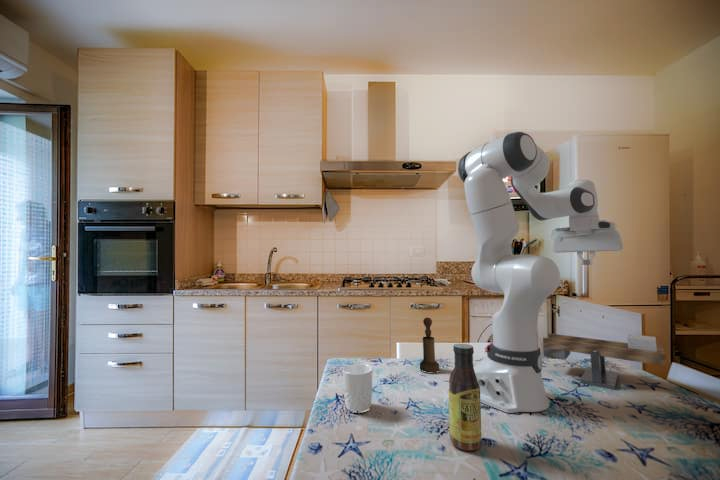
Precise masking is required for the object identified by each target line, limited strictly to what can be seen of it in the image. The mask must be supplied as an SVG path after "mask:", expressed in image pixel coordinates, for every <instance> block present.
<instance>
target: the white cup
mask: <svg viewBox="0 0 720 480" xmlns="http://www.w3.org/2000/svg"><path fill="white" fill-rule="evenodd" d="M342 384H343V395H344V396H343V397H344V404H345V405H344V406H346V408H347V409H349V410H350V411H364V410H367V409H369V408H370V407H371V408H372V396H373V367H372V366H370V365H368V364H362V363H354V364H349V365H348V364H347V365H346V366H344V367H343V368H342ZM346 408H345V409H346Z"/></svg>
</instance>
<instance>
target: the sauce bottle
mask: <svg viewBox="0 0 720 480" xmlns="http://www.w3.org/2000/svg"><path fill="white" fill-rule="evenodd" d="M474 351H475V350H474V346H473V345H472V344H469V343H455V344H453V353H454V363H453V364H454V368H453V369H452V370H451V372H450V375H449V379H448V380H449V383H448V384H449V386H448V387H449V388H448V401H449V402H448V404H449V406H448V407H449V409H448V410H449V411H448V412H449V419H448V421H449V422H448V423H449V436H450V437H449V438H450V442H451V444H452V445H453V447H455V448H456V449H458V450H461V451H466V452H473V451H477V450H478V449H479V448H480V447H481V444H482V415H481V414H482V411H481V410H482V408H481V406H482V405H481V402H480V386H479V384H478V381H477V378H476V375H475V371H474V368H473V365H474V359H473V358H474Z"/></svg>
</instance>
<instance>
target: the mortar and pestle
mask: <svg viewBox="0 0 720 480" xmlns="http://www.w3.org/2000/svg"><path fill="white" fill-rule="evenodd" d="M422 321H423V325H424V327H425V330H424V334H425V336H422V350H423V351H422V352H423V353H422V354H423V355H422V356H423V360H421V361H420V363H419V370H420V369H421V370H423V371H426V372H437V371H439V372H440V363H439V362H437V360H436V357H435V355H436V354H435V337H434V336H432V330H431V326H432V325H433V320H432V318H431V317H425V318H423V320H422Z"/></svg>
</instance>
